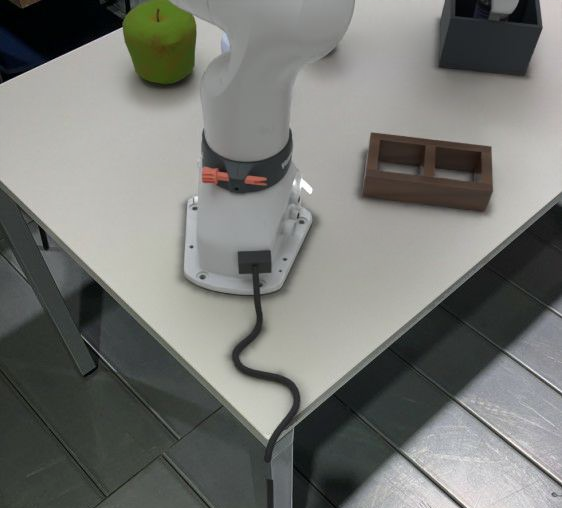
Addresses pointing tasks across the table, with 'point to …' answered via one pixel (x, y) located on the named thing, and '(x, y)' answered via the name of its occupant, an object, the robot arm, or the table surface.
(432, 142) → the brown wooden caddy
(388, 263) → the table surface
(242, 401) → the table surface
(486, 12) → the pill bottle
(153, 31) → the apple
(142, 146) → the table surface
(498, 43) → the open square box
